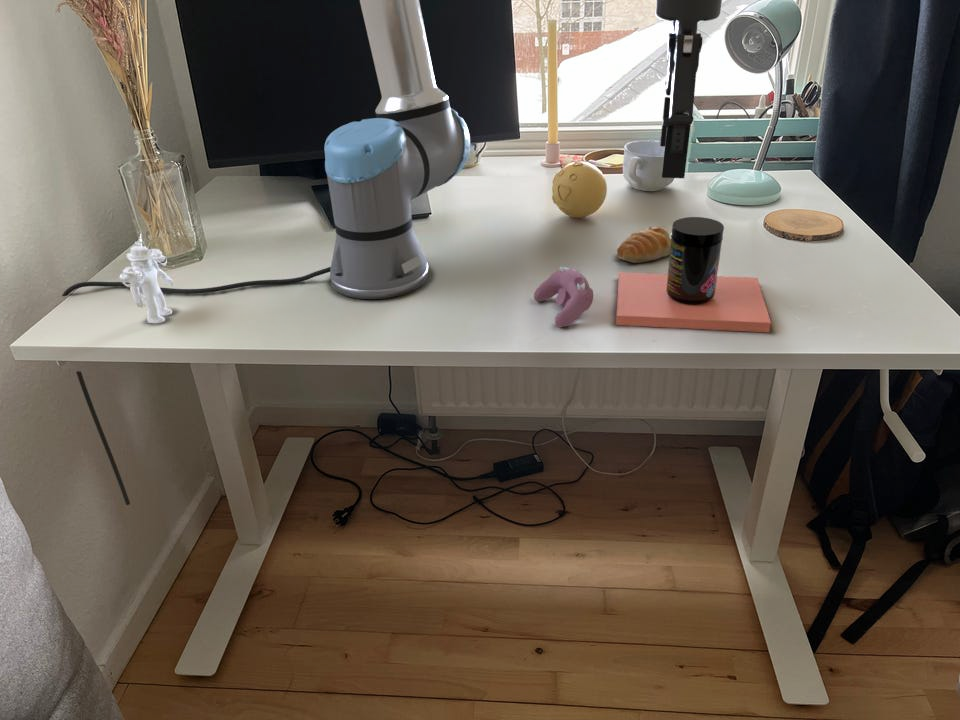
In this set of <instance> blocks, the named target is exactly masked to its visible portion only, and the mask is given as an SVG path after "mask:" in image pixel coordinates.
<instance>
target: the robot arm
mask: <svg viewBox="0 0 960 720" xmlns="http://www.w3.org/2000/svg"><path fill="white" fill-rule="evenodd" d="M655 3H656V5H655V16H656V18H658V19H659V20H661V21H662V20H663V21H668V22H671V26H672V33H671V32H670V33H669V32H668V33H667V38H666V39H667V42H666V48H667V55H666V56H667V57H666V62H667V63H668V66H667V74H666V80H665V83H664V85H665V89H664V94H665V97H664V102H663V111H662V123H661V130H660V131H661V133H660V141H659V142H660V146H663V147H665V150H664V159H663V169H662V178H674V179H685V174H686V167H687V158H688V152H689V151H688V150H689V141H690V135H691V125H692V123H693V122H694V104H695V92H696V79H697V72H698V69H699V65H700V53H701V52H702V47H703V36H702V33H701V32H699V33H698V23H699V22H702V21H703V22H708V21H713V20H716V19H717V18H718V17H720V15H721V9H722V3H723V0H656V2H655ZM359 4H360V9H361V13H362V16H363V21H364V25H365V30H366V34H367V38H368V43H369V49H370V51H371V57H372V60H373V64H374V69H375V73H376V78H377V82H378V86H379V90H380V95H381V98H380V101H379V103H378V105H377V106H376V108H375V110H374V112H375V116H376V117H373V118H364V119H361V120H360V121H351V122H348V123H347V124H343V125H341V126H340V127H338V128H336V129H334V130H332V132H330V134H329V135H328V136H327V137H326V139H325V143H324V147H323V149H324V158H325V161H324V170H325V173H326V178H327V184H328V191H329V196H330V203H331V204H330V205H331V210H332V215H333V221H334V222H333V223H334V228H335V242H334V248H333V253H332V258H331V264H330V266H328V267H325V268H322V269H319V270H316V271H313V272H311V273H308V274H306V275H303V276H298V277H293V278H283V279H281V278H280V279H260V280H259V279H258V280H249V281H243V282H236V283H231V284H225V285H220V286H219V285H218V286H212V287H205V288H174V287H173V288H172V287H171V288H170V287H161V286H159V287H160V289H161V291H162V293H164V294H165V293H166V294H177V295H178V294H179V295H189V294H191V295H192V294H194V295H195V294H197V295H198V294H208V293H217V292H222V291H227V290H233V289H238V288H239V289H240V288H245V287H253V286H267V285H270V286H271V285H288V284H296V283H302V282H305V281H307V280H311V279H312V278H315V277H319V276H321V275H324V274H327V273H329V276H330V281H331V286H332V288H333V289H334V290H335V291H336V292H337V293H339V294H341V295H343V296H346V297H348V298H355V299H359V300H360V299H362V300H379V299H388V298H389V299H390V298H394V297H397V296H401V295H405V294H407V293H410V292H412V291H415V290H416V289H418V288H420V287H421V286H423V285H424V284H425V283H426V282H427V280H428V278H429V264H428V261H427V258H426V255H425V253H424V251H423V248H422V246H421V244H420V242H419V240H418V237H417V236H416V232H415V231H414V226H413V216H412V206H411V201H412V200H414V199H416V198H418V197H420V196H422V195H423V194H426V193H427V192H429V191H431V190H433V189H435V188H438V187H442V186H443V185H445V184H447V183H448V182H449V181H451V180H452V179H453V178H454V177H455V176H457V175H458V174H460V172H461V171H462V170H463V169H464V167H465V166H466V164H467V162H468V159H469V157H470V152H471V136H470V135H471V134H470V132H469V128H468V125H467V123H466V122H465V120H464V117H461V116H459V113H458V112H457V111H456V110H455V109H454V108H451V105H450V99H449V96H448V94H446V92H444V91H443V90H441V89H440V88H439V87H438V86H437V84H436V79H435V74H434V69H433V64H432V58H431V54H430V49H429V42H428V40H427V39H428V38H427V34H426V29H425V24H424V23H425V22H424V18H423V13H422V9H421V3H420V0H359ZM130 283H131V282H127V281H126V283H125V284H127V285H128V284H130ZM85 287H123V288H128V287H127V286H125V285H124V284H123V283H122V282H121V281H82V282H77V283H74V284H73V285H71V286H69V287H68V288H66V289H65V291H64V292H63V293H62V295H61V297H68V296H69V295H70V294H71V293H72V292H73V291H76V290H78V289H80V288H85ZM75 373H76V376H77V379H78V382H79V385H80V387H81V390H82V393H83V396H84V399H85V402H86V404H87V407H88V409H89V411H90V415H91V417H92V420H93V423H94V425H95V427H96V429H97V432H98V435H99V437H100V440H101V443H102V445H103V447H104V450H105V453H106V455H107V457H108V460H109V463H110V466H111V468H112V471H113V473H114V475H115V479H116V481H117V483H118V486H119V489H120V492H121V494H122V498H123V499H124V503H125V505H126V506H129V505H130V504H131V502H130V499H129V496H128V493H127V490H126V488H125V485H124V481H123V480H122V477H121V474H120V471H119V469H118V466H117V464H116V460H115V458H114V455H113V454H112V453H113V452H112V451H111V448H110V445H109V443H108V440H107V438H106V436H105V433H104V431H103V428H102V424H101V423H100V421H99V418H98V414H97V413H96V410H95V407H94V404H93V402H92V399H91V396H90V394H89V390H88V388H87V385H86V383H85V380H84V375H83V373H82V371H75Z"/></svg>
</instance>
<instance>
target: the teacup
mask: <svg viewBox="0 0 960 720" xmlns="http://www.w3.org/2000/svg"><path fill="white" fill-rule="evenodd" d="M623 149H624V152H623V161H622V175H623V178H624V180H625V181H626V182H627V183H628V184H629V185H630V186H631V187H632V188H633V189H635V190H638V191H643V192H658V191H661V190H663V189H665V188H666V187H668V186H669V185H671V184H672V182H673V181H674V180H675V178H662V169H663V159H664V150H665V147H663V146H660V141H659V140H634V141H630V142H628V143H626V144H625V145H624V146H623Z"/></svg>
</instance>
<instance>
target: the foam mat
mask: <svg viewBox="0 0 960 720" xmlns="http://www.w3.org/2000/svg"><path fill="white" fill-rule="evenodd" d="M667 277H668V273H646V272H645V273H642V272H618V284H617V301H616V317H615V325H616V326H632V327H648V328H649V327H650V328H668V329H669V328H670V329H688V330H689V329H690V330H691V329H692V330H711V331H712V330H713V331H729V332H730V331H731V332H748V333H749V332H750V333H770V332H771V325H772V321H771V319H770V315H769V311H768V308H767V305H766V301H765V299H764V295H763V291H762V288H761V285H760V282H759V279H758V277H753V276H751V277H748V276H727V275H726V276H724V275H723V276H722V275H717V281H716V289H715V295H714V297H713V298H712V299H711V300H710V301H708V302H706V303H704V304H698V305H688V304H682V303H679V302H676V301H674V300H672V299H671V298H670V297H669V296H668V294H667V291H666V287H667Z"/></svg>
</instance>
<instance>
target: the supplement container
mask: <svg viewBox="0 0 960 720" xmlns="http://www.w3.org/2000/svg"><path fill="white" fill-rule="evenodd" d="M724 230H725V226H724V224H723V223H722V222H720V221H718V220H716V219H714V218H708V217H703V216H687V217H682V218H679V219H678V218H677V219H675V220H674V221H673V222H672V224H671V233H670V238H671V246H670V254H669V255H668V256H669V258H668V269H667V274H668V277H667V287H666V291H667V294H668V296H669V297H670V298H671V299H672V300H674V301H676V302H679V303H682V304H688V305H698V304H704V303H706V302H708V301H710V300H711V299H712V298H713V297H714V295H715V289H716V281H717V276H718V273H719V265H720V257H721V251H722V243H723V239H724Z"/></svg>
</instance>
